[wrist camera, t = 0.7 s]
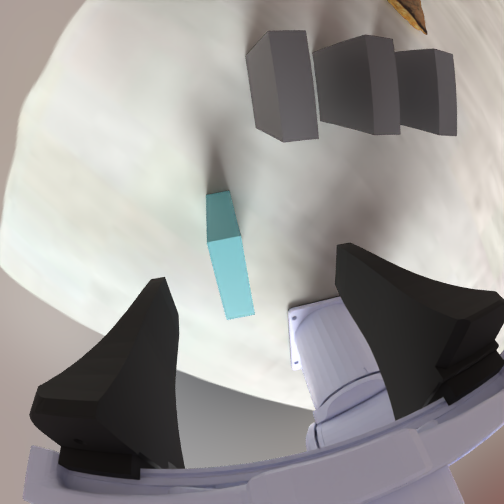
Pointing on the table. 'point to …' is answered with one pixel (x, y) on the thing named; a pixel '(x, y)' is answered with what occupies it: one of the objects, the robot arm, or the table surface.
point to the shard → (411, 12)
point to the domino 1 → (228, 256)
